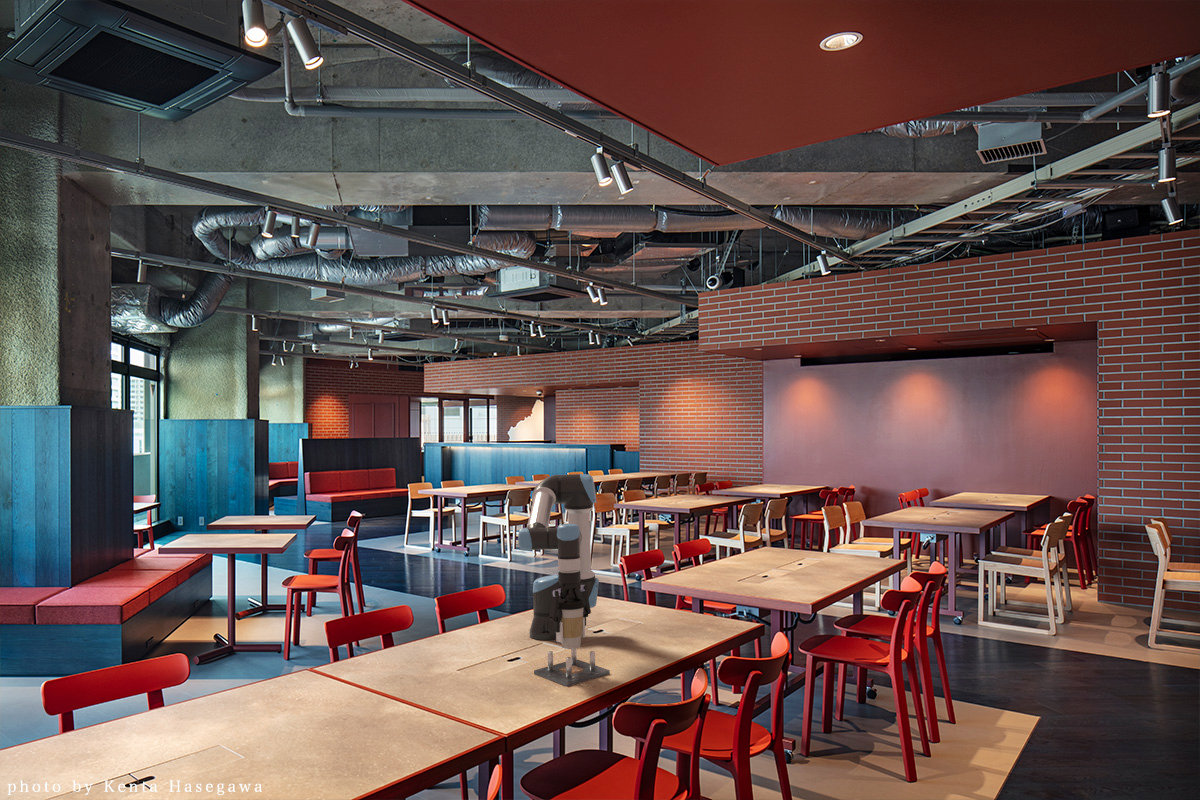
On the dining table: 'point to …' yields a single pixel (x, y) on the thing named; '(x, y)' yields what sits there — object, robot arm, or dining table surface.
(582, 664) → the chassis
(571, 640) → the coffee cup
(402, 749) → the dining table surface
